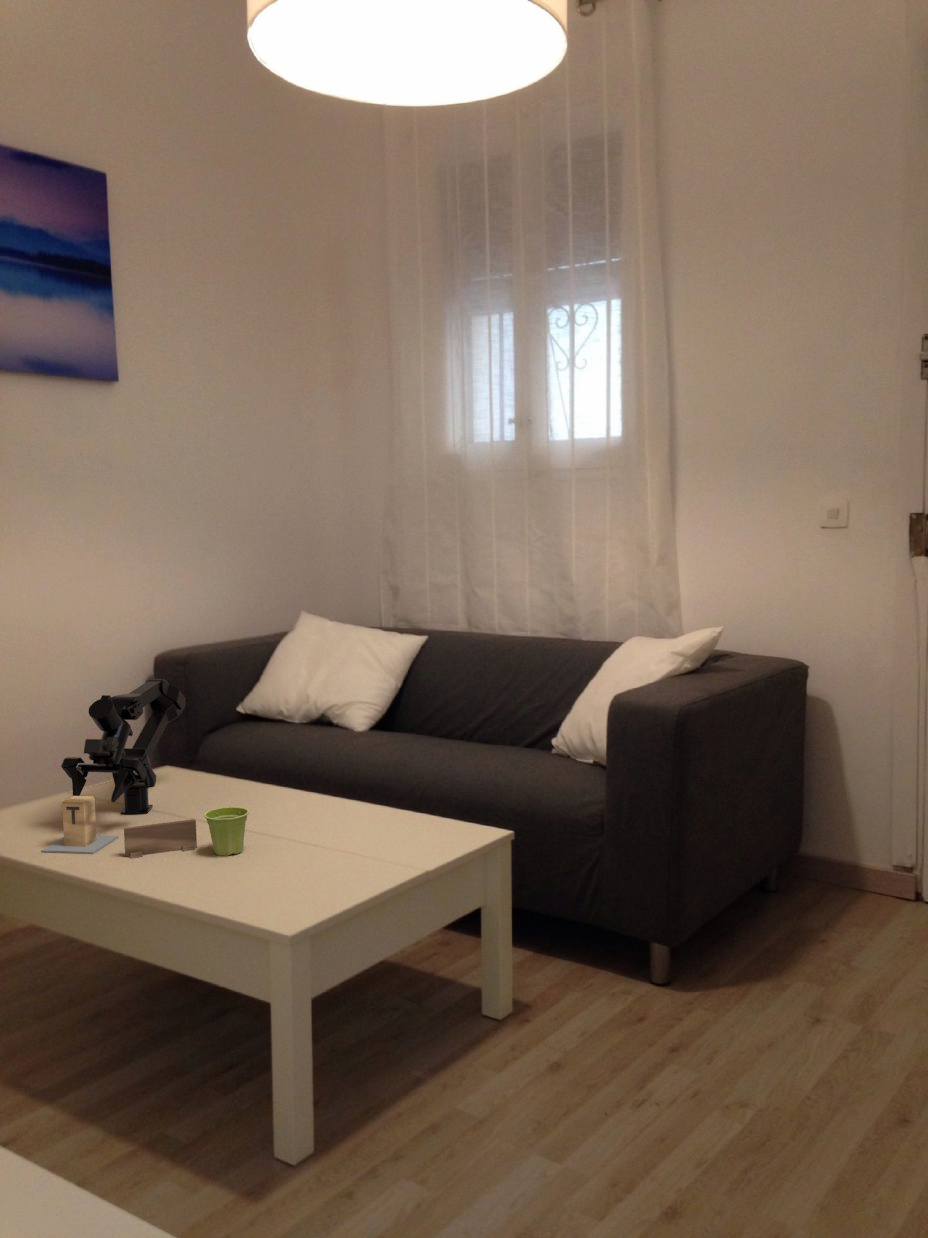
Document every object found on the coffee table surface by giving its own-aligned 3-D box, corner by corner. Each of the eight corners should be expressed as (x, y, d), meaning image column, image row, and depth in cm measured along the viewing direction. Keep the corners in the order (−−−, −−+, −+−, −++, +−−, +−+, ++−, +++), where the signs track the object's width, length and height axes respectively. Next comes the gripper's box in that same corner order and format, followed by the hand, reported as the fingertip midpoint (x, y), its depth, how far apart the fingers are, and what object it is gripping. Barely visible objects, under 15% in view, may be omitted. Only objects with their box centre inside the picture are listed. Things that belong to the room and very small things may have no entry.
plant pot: (240, 859, 236) (238, 819, 235) (198, 857, 238) (196, 817, 237) (257, 846, 245) (255, 807, 244) (217, 844, 247) (215, 806, 246)
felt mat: (69, 836, 255) (69, 834, 255) (118, 837, 253) (118, 836, 253) (41, 852, 243) (41, 850, 243) (93, 854, 241) (93, 852, 241)
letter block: (75, 839, 251) (73, 795, 250) (96, 840, 250) (94, 796, 249) (64, 846, 246) (61, 801, 245) (85, 847, 245) (83, 802, 244)
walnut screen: (124, 853, 241) (123, 826, 240) (194, 844, 247) (193, 817, 247) (126, 858, 237) (125, 831, 237) (198, 849, 243) (196, 822, 243)
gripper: (62, 723, 258) (40, 782, 249) (138, 724, 255) (119, 784, 246) (81, 748, 267) (60, 806, 257) (155, 750, 264) (136, 808, 255)
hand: (93, 801), depth 254 cm, fingers open, 9 cm apart
